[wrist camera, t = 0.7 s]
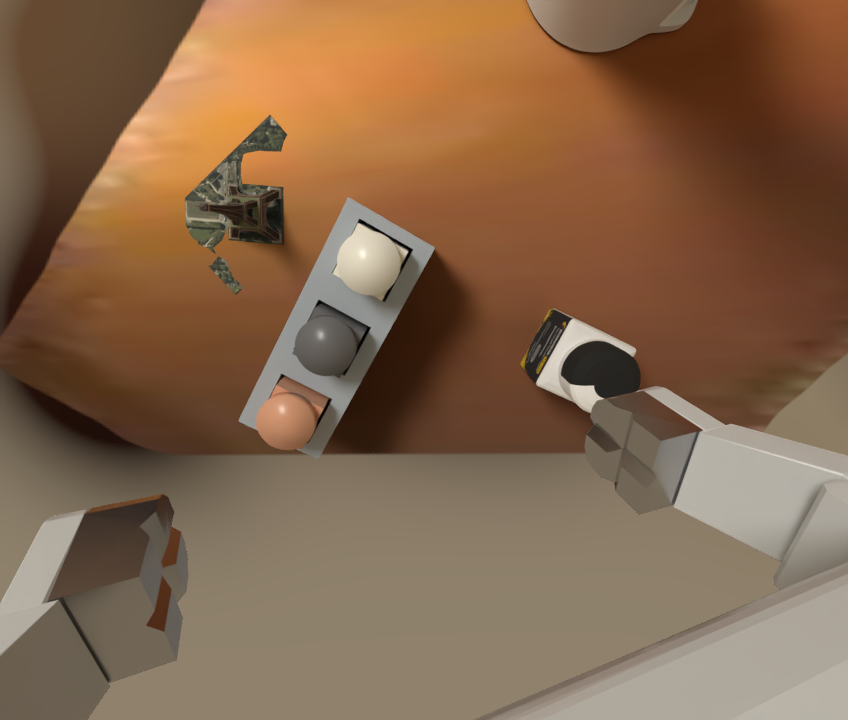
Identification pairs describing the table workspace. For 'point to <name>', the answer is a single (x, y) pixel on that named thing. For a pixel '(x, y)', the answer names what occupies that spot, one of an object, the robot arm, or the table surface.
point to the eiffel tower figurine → (237, 202)
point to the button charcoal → (328, 341)
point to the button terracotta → (290, 415)
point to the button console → (355, 305)
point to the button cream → (369, 261)
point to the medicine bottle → (580, 361)
